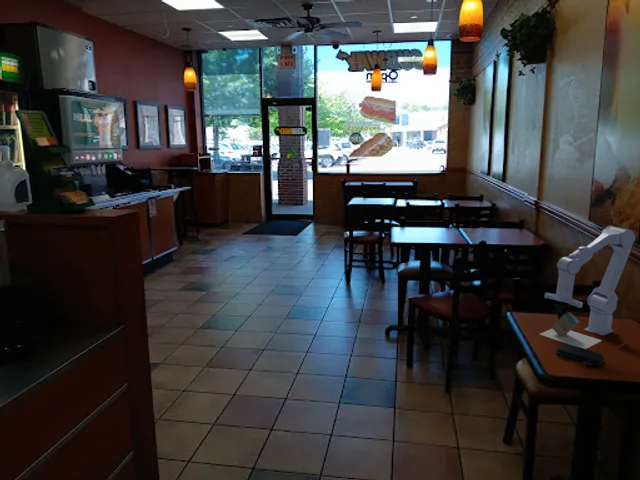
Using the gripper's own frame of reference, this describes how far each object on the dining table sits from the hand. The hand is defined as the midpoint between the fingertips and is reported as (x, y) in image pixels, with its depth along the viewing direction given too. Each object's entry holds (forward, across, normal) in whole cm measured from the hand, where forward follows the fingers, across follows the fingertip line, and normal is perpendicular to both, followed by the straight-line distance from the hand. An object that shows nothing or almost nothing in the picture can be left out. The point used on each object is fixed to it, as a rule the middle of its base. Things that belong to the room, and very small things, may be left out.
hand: (560, 319), depth 205 cm
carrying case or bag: (+7, +16, -15) cm, 23 cm away
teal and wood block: (+5, 0, 0) cm, 5 cm away
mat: (+7, +5, +1) cm, 8 cm away
